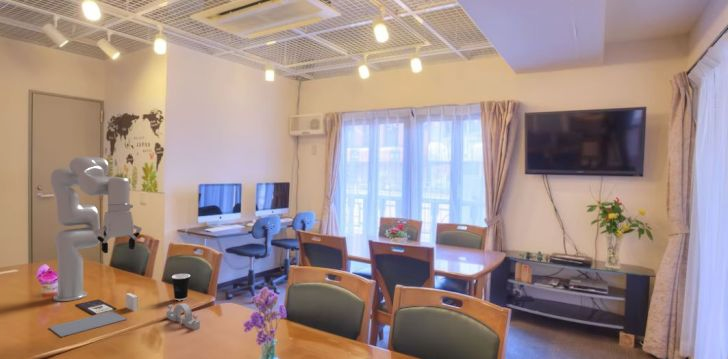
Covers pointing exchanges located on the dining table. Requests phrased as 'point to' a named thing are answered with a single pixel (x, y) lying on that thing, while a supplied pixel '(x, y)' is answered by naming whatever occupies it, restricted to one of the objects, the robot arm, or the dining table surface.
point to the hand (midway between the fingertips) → (118, 250)
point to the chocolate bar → (95, 307)
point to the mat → (86, 324)
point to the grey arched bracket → (176, 314)
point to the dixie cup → (180, 286)
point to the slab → (131, 302)
